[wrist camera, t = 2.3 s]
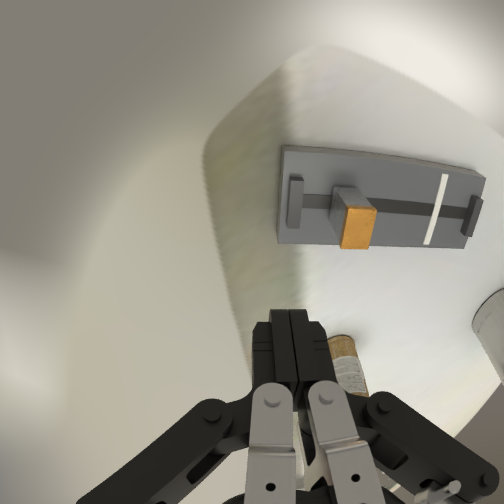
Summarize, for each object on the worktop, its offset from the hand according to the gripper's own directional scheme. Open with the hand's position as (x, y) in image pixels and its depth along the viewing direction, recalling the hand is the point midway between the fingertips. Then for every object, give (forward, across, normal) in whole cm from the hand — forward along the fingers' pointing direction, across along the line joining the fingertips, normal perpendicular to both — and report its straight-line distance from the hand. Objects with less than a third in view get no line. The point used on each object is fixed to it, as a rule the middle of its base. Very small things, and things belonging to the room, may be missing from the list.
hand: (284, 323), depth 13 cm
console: (+15, -11, 0) cm, 19 cm away
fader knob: (+13, -6, 0) cm, 14 cm away
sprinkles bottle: (+15, -10, +20) cm, 27 cm away
